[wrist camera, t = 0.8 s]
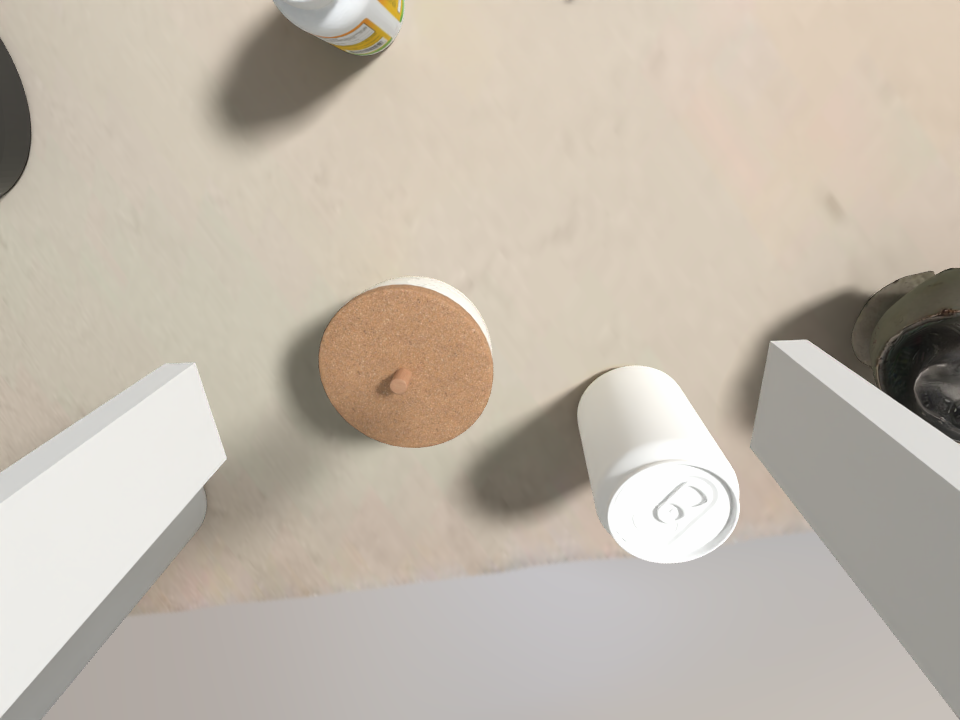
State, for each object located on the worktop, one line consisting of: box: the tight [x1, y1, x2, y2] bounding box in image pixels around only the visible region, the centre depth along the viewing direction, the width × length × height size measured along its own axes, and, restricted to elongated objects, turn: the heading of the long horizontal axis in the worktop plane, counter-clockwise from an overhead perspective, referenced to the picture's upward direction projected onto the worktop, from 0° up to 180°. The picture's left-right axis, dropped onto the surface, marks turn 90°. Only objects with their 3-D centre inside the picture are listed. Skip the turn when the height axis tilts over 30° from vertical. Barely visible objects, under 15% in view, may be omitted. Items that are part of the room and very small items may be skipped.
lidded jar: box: [319, 276, 493, 448], centre depth 33 cm, size 11×11×9 cm
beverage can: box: [577, 366, 740, 563], centre depth 33 cm, size 8×8×12 cm
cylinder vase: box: [0, 487, 207, 720], centre depth 34 cm, size 12×12×25 cm
